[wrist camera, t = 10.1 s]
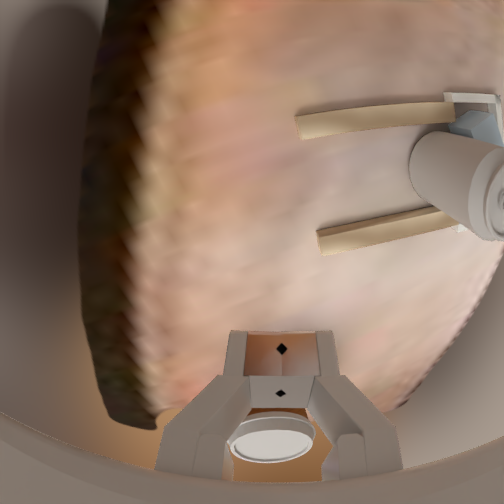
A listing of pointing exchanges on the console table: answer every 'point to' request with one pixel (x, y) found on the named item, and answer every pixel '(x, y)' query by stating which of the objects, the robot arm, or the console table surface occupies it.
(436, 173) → the can
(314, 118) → the slot rails
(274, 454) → the disposable coffee cup
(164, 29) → the console table surface
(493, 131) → the light blue boxy piece
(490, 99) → the white u-shaped frame
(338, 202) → the console table surface
